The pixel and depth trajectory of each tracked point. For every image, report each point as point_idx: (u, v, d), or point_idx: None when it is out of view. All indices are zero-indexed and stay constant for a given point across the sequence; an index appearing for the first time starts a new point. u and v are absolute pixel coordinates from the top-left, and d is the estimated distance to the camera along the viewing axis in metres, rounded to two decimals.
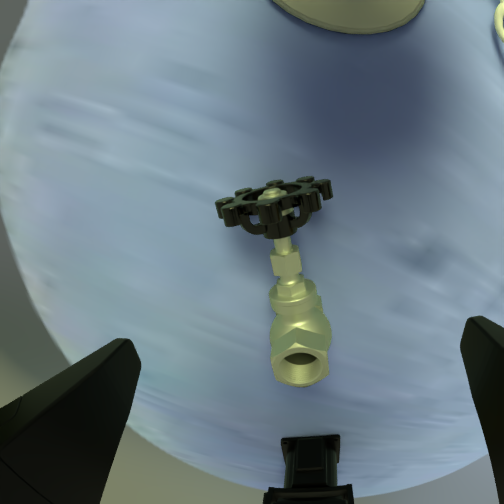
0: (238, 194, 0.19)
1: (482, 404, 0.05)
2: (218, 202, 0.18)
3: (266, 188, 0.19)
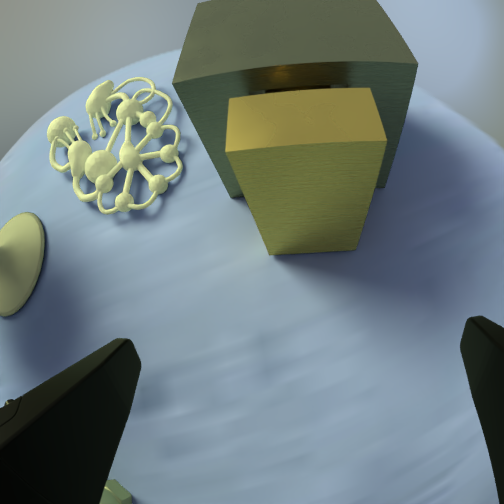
0: None
1: (482, 404, 0.05)
2: None
3: None
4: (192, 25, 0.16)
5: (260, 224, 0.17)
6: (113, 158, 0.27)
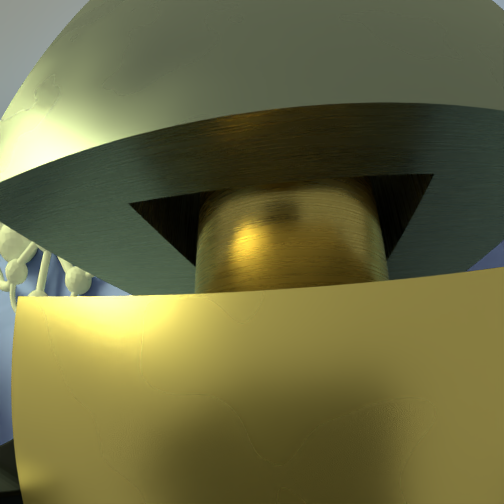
0: None
1: None
2: None
3: None
4: (65, 29, 0.07)
5: None
6: None
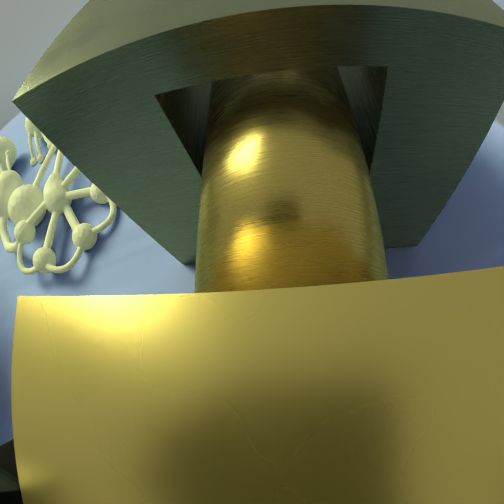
0: None
1: None
2: None
3: None
4: None
5: None
6: (39, 196, 0.19)
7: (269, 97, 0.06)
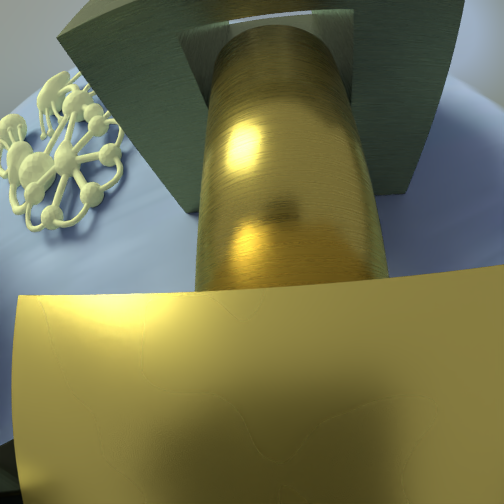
0: None
1: None
2: None
3: None
4: None
5: None
6: (49, 162, 0.20)
7: (269, 96, 0.06)
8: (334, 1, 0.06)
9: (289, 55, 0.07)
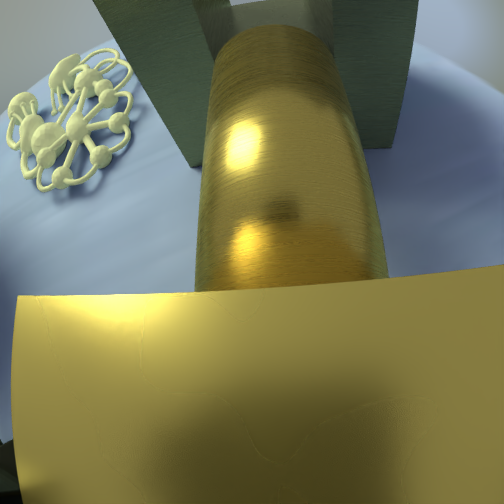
0: None
1: None
2: None
3: None
4: None
5: None
6: (61, 131, 0.21)
7: (269, 96, 0.06)
8: None
9: (289, 55, 0.07)
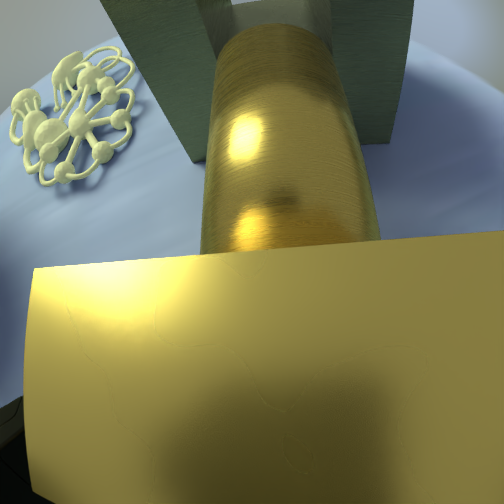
0: None
1: None
2: None
3: None
4: None
5: None
6: (64, 126, 0.22)
7: (270, 91, 0.06)
8: None
9: (289, 52, 0.07)
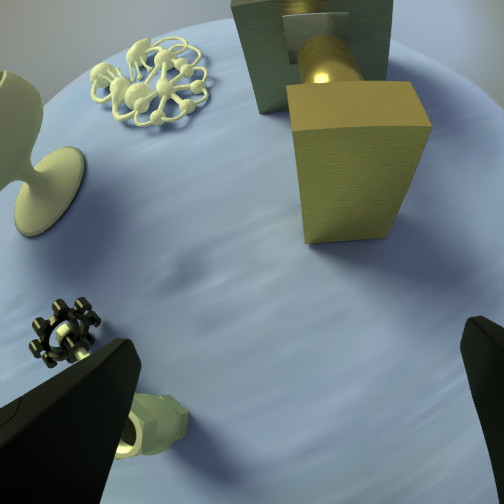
0: None
1: (482, 404, 0.05)
2: (42, 356, 0.20)
3: None
4: None
5: (305, 209, 0.18)
6: (150, 89, 0.31)
7: (332, 61, 0.16)
8: (341, 9, 0.17)
9: (335, 48, 0.17)
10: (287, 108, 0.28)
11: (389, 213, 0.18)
